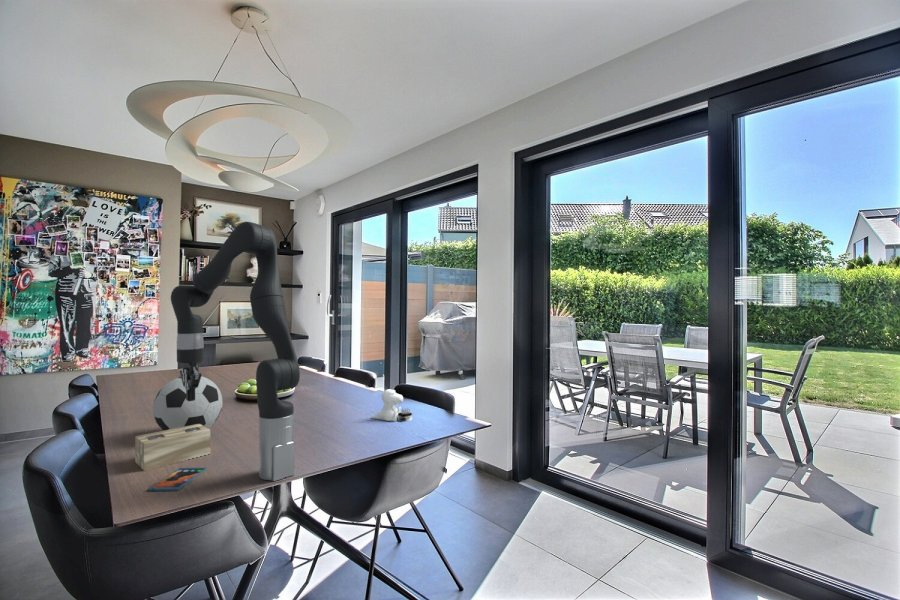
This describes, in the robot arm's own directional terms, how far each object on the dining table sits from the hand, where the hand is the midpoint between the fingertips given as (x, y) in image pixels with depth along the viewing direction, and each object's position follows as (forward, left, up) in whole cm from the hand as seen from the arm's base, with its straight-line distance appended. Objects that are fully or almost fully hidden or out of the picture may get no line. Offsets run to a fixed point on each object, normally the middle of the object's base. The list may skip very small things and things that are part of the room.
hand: (190, 400), depth 141 cm
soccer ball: (+22, -6, -18) cm, 29 cm away
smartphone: (-19, +9, -18) cm, 28 cm away
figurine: (-17, -70, -18) cm, 74 cm away
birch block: (0, +5, -17) cm, 18 cm away
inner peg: (0, 0, -17) cm, 17 cm away
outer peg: (0, +10, -16) cm, 19 cm away
